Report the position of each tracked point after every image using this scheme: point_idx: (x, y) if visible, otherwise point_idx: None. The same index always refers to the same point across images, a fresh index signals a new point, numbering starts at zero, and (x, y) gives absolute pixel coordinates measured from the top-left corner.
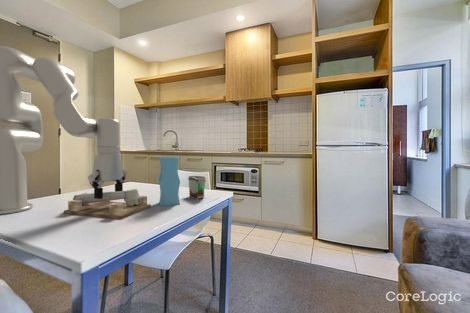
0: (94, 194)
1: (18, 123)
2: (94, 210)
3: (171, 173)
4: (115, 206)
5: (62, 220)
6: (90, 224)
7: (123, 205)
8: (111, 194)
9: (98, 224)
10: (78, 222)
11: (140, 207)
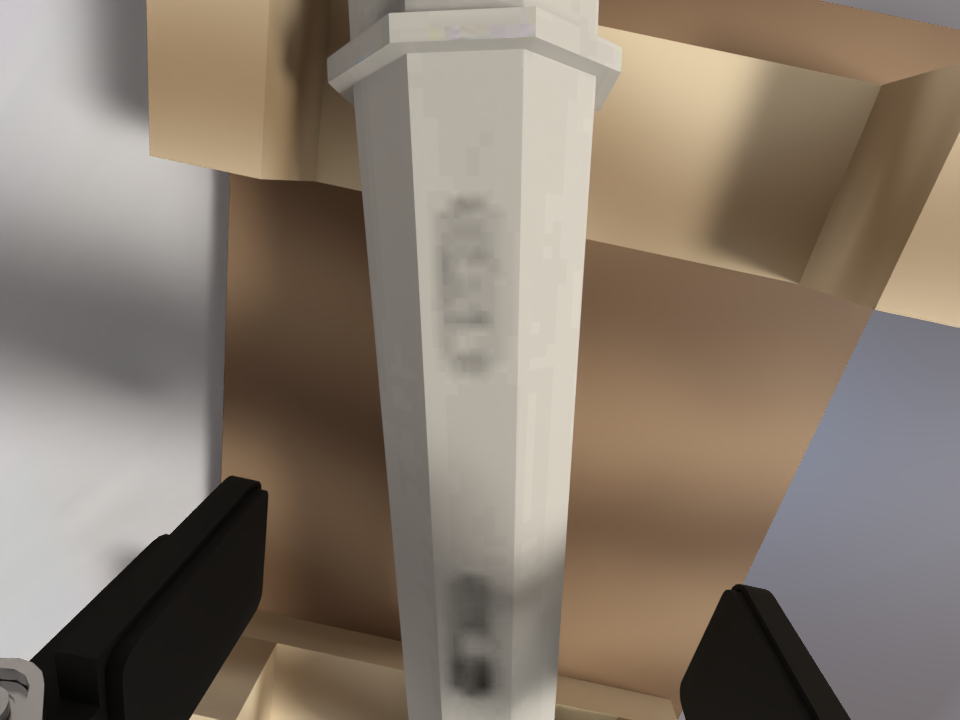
0: (141, 556)
1: None
2: (336, 373)
3: None
4: None
5: (33, 182)
6: (47, 535)
7: (600, 579)
8: (414, 686)
9: (69, 591)
10: (48, 404)
11: None
